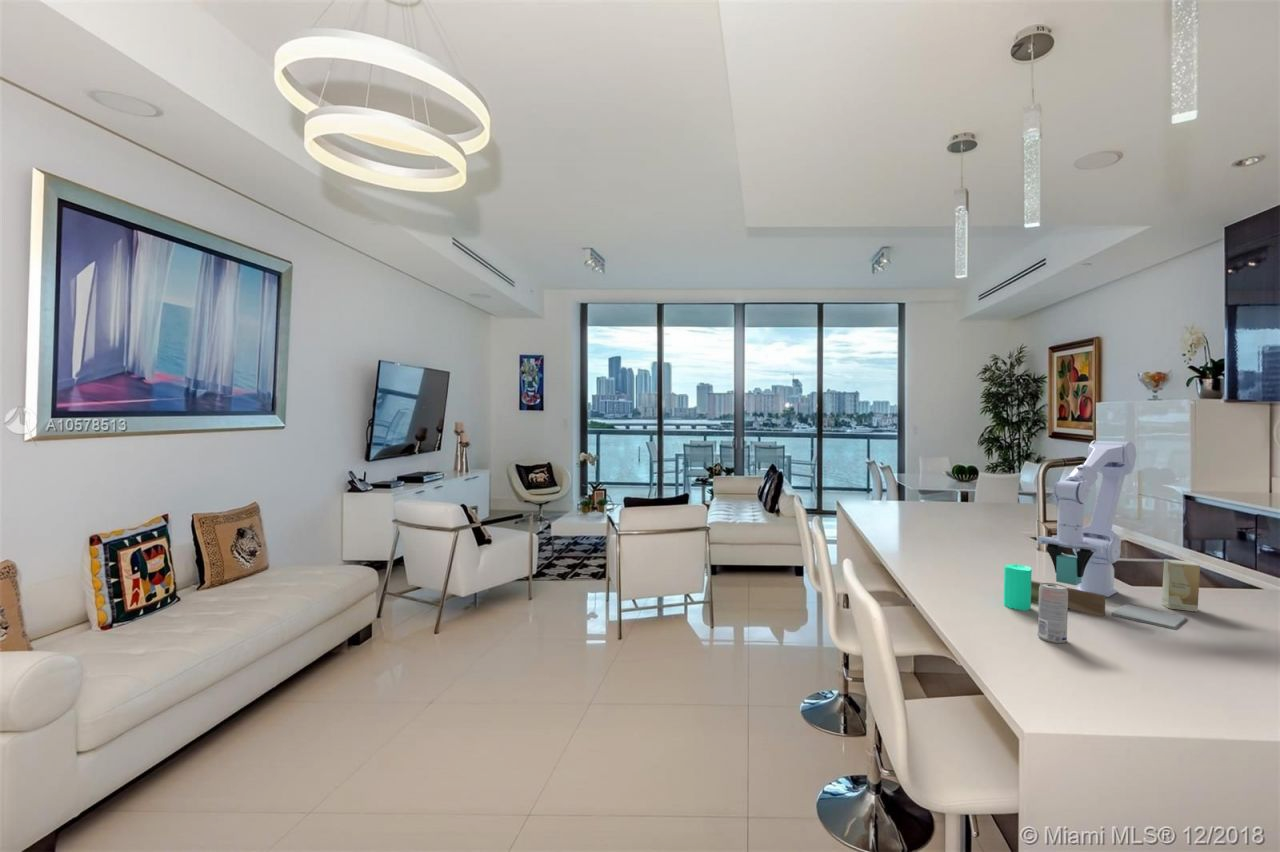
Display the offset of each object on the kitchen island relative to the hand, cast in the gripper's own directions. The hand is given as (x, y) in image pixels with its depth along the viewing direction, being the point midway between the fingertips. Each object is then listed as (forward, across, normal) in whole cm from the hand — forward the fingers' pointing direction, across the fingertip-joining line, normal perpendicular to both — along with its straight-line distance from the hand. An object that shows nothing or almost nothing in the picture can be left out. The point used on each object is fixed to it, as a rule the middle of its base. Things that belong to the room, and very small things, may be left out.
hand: (1068, 574), depth 161 cm
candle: (+7, -6, -18) cm, 20 cm away
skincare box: (+7, +20, +16) cm, 27 cm away
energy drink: (+7, +8, -37) cm, 39 cm away
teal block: (+2, 0, 0) cm, 2 cm away
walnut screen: (+7, 0, -8) cm, 11 cm away
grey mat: (+7, +17, 0) cm, 18 cm away
